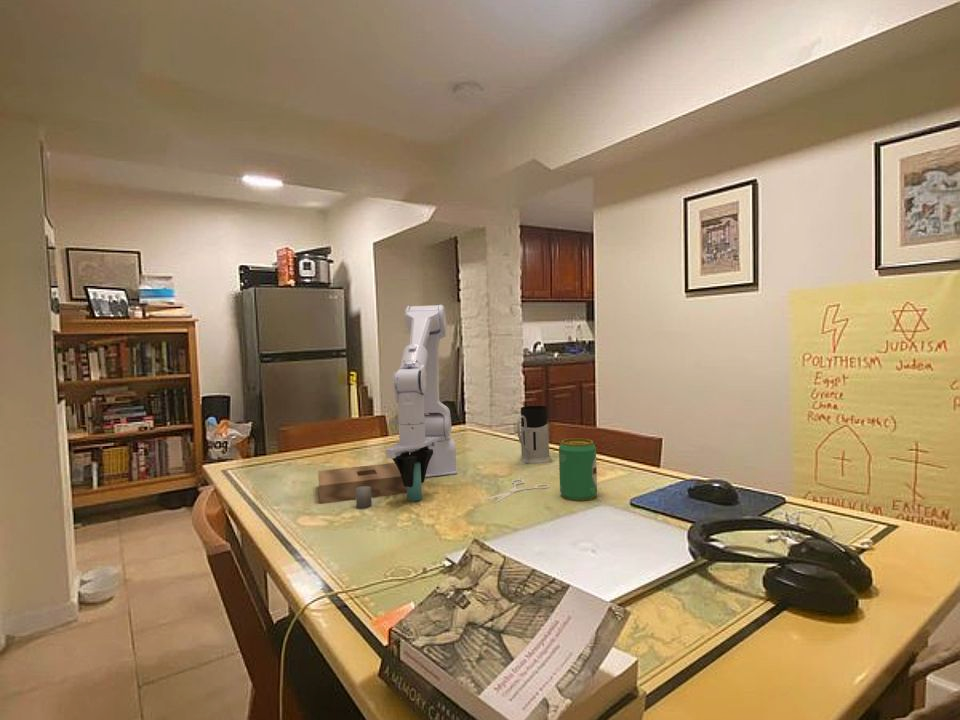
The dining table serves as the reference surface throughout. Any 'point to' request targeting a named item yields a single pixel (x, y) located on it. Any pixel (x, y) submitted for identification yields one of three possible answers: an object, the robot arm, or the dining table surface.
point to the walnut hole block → (359, 482)
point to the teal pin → (415, 485)
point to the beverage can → (578, 469)
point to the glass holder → (534, 434)
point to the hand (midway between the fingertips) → (414, 484)
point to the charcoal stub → (363, 497)
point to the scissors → (517, 489)
